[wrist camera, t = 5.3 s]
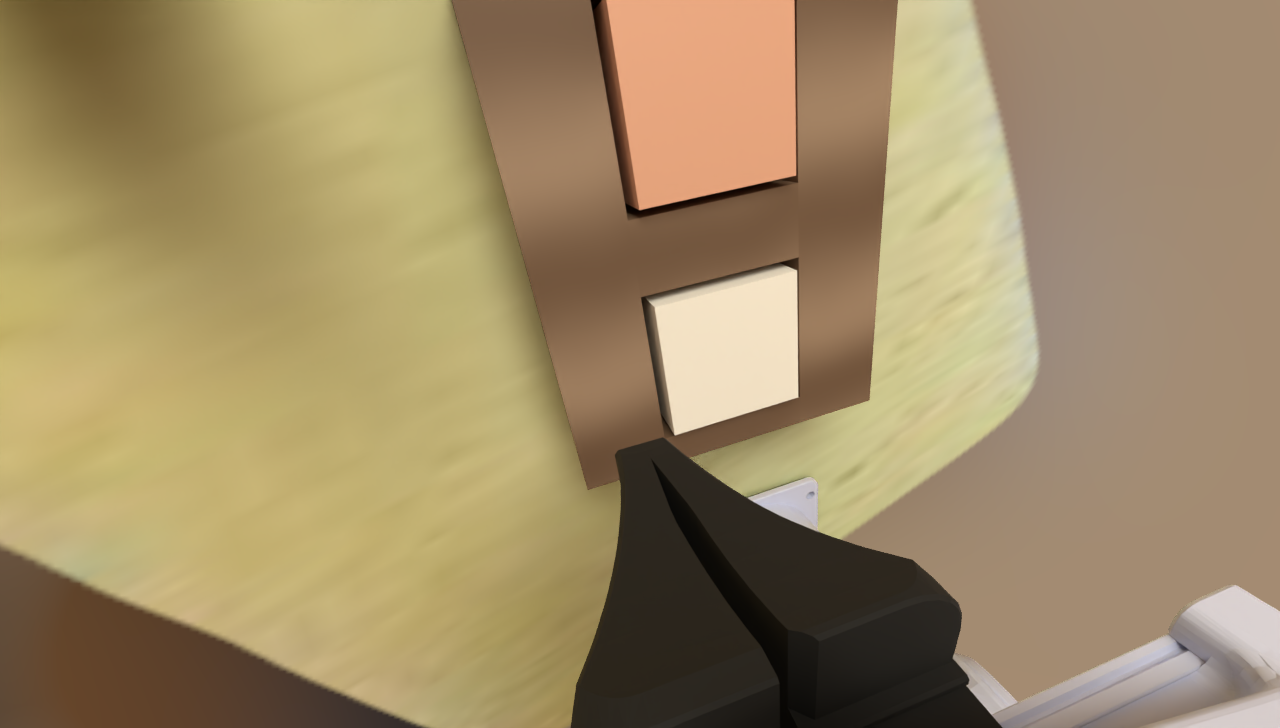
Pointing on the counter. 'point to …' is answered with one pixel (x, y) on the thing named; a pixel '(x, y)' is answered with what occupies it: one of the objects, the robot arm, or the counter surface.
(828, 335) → the key console
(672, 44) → the terracotta key
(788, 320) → the offwhite key
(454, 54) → the counter surface
